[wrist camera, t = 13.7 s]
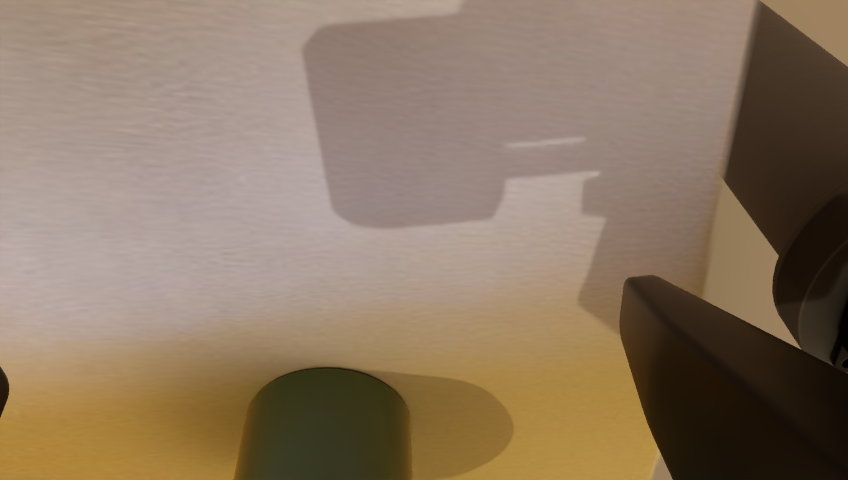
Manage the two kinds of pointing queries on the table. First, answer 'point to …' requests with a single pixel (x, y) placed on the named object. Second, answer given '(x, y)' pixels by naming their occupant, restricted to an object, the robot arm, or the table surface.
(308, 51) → the table surface
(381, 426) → the jar
